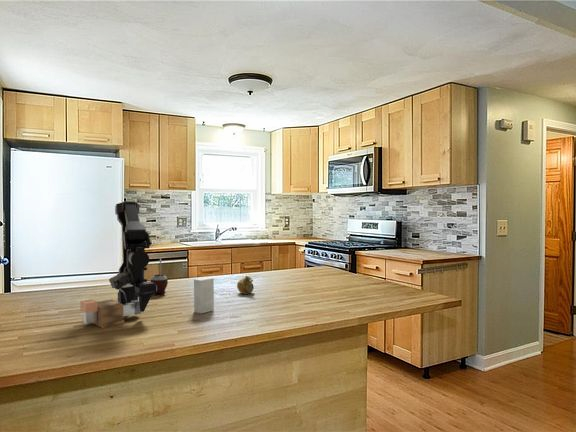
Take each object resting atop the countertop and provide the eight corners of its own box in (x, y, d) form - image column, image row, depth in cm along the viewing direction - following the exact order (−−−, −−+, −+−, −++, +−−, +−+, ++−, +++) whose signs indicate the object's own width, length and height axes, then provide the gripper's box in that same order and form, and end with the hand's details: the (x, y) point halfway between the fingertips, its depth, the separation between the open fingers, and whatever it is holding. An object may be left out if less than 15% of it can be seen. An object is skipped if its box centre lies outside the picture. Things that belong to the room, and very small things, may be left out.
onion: (255, 291, 181) (256, 273, 180) (252, 295, 173) (252, 277, 172) (239, 291, 181) (239, 273, 181) (235, 295, 173) (235, 276, 173)
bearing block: (110, 317, 138) (110, 299, 138) (124, 323, 132) (124, 304, 132) (89, 321, 133) (89, 302, 133) (102, 328, 127) (102, 308, 126)
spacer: (92, 308, 131) (92, 299, 131) (97, 311, 128) (97, 301, 128) (80, 310, 128) (80, 301, 128) (85, 313, 125) (85, 303, 125)
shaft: (136, 311, 142) (136, 299, 142) (140, 313, 139) (140, 301, 139) (82, 322, 128) (82, 309, 128) (86, 324, 126) (86, 311, 126)
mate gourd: (156, 296, 169) (156, 261, 169) (146, 293, 174) (145, 259, 174) (171, 293, 175) (171, 259, 175) (160, 291, 180) (160, 257, 180)
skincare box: (206, 308, 151) (206, 276, 151) (214, 310, 148) (214, 278, 148) (193, 311, 146) (193, 278, 146) (200, 313, 144) (200, 280, 143)
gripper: (100, 263, 140) (100, 308, 140) (125, 270, 127) (125, 319, 128) (131, 260, 148) (131, 303, 148) (157, 266, 135) (157, 312, 136)
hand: (135, 309), depth 140 cm, fingers open, 9 cm apart
